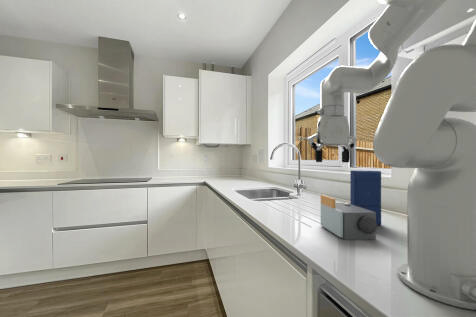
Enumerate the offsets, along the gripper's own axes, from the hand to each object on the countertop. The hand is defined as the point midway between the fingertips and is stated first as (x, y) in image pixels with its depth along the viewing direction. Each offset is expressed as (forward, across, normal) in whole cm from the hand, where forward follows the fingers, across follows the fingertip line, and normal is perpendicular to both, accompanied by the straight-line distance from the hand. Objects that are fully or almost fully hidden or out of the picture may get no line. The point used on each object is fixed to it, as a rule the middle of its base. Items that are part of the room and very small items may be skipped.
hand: (332, 162), depth 70 cm
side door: (+23, -2, -3) cm, 23 cm away
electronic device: (+23, +16, +6) cm, 29 cm away
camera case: (+23, +4, -2) cm, 24 cm away
